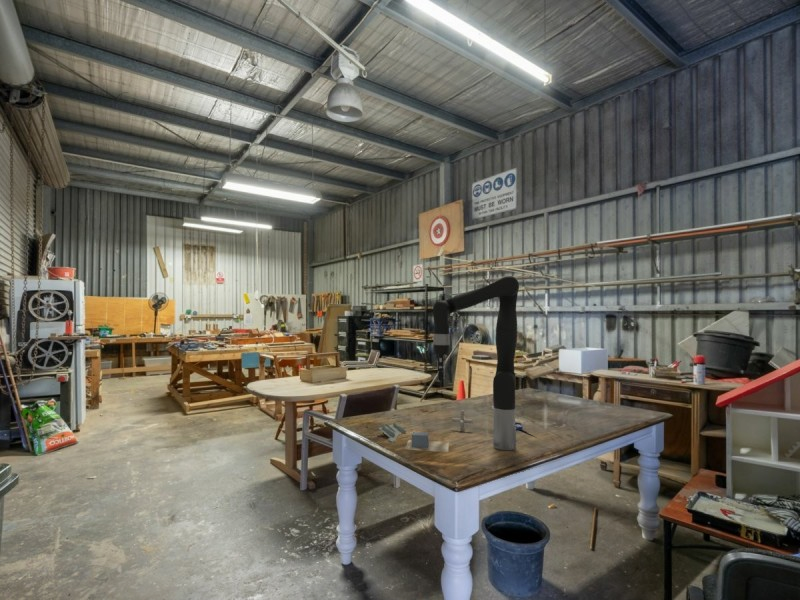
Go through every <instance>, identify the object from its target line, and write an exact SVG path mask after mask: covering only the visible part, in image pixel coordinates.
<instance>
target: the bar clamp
mask: <svg viewBox="0 0 800 600" xmlns="http://www.w3.org/2000/svg"><path fill="white" fill-rule="evenodd" d="M515 427H516V430H521V431H522V432H523V431H524V432H523V433H525V432H526V433H525V434H527V432H528V431H526V430H524V429H523V425H522V423H521V422H516V421H515Z"/></svg>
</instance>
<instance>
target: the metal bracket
mask: <svg viewBox="0 0 800 600" xmlns="http://www.w3.org/2000/svg"><path fill="white" fill-rule="evenodd" d="M378 430H379V431H381V432H382V434H383V433H384V434H385V435H386V436H387V437H388V438H387V440H388V441H389V442H390V441H391V442H390V443H394V442H395V441H396V439H397V437H398V435H400V434H406V433H407V430H406V429H405V428H404V427H402V426H400V425H398V424H397V422H393V424H388V423H385V424H383V425H382V426H381V427H378ZM393 441H394V442H393Z"/></svg>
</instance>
